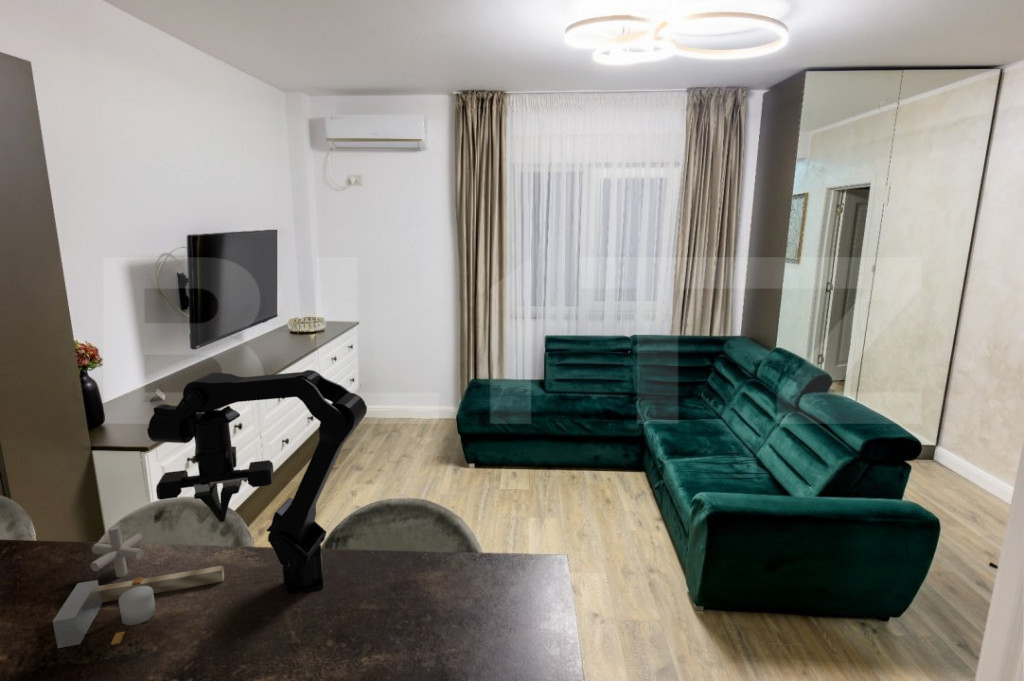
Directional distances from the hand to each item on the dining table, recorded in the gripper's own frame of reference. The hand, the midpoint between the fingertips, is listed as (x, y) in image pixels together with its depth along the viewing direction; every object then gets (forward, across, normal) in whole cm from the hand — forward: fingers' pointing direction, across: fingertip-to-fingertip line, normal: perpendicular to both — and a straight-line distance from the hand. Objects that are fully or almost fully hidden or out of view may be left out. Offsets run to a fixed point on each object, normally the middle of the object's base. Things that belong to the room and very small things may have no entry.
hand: (222, 520), depth 107 cm
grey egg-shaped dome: (+12, +13, +7) cm, 19 cm away
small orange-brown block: (+12, +15, +12) cm, 23 cm away
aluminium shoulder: (+12, +22, +7) cm, 26 cm away
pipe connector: (+12, +20, -7) cm, 24 cm away
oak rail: (+12, +12, 0) cm, 17 cm away
